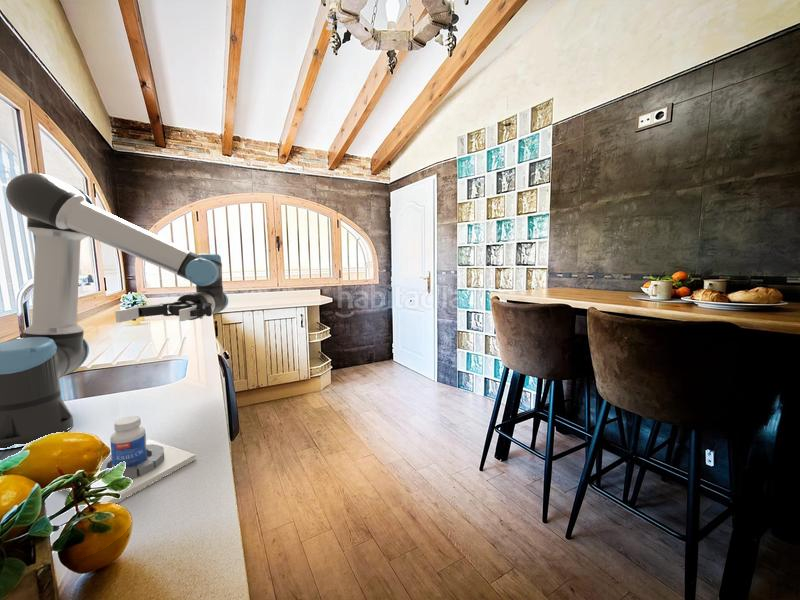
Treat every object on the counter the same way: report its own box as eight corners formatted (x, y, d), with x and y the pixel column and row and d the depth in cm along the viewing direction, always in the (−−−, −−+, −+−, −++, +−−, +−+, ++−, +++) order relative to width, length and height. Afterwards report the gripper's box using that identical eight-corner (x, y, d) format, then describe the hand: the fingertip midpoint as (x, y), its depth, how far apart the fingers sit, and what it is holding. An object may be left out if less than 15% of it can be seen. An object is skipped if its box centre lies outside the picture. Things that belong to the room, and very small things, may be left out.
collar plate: (57, 485, 62) (55, 472, 61) (150, 444, 76) (149, 433, 76) (104, 510, 55) (103, 495, 55) (195, 459, 70) (195, 447, 70)
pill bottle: (114, 478, 62) (109, 429, 61) (111, 466, 66) (106, 420, 65) (150, 466, 66) (146, 419, 65) (145, 455, 69) (141, 411, 69)
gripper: (240, 317, 98) (207, 330, 77) (151, 319, 95) (91, 333, 74) (239, 292, 98) (205, 299, 77) (149, 293, 95) (88, 300, 74)
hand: (149, 316), depth 76 cm, fingers open, 13 cm apart
